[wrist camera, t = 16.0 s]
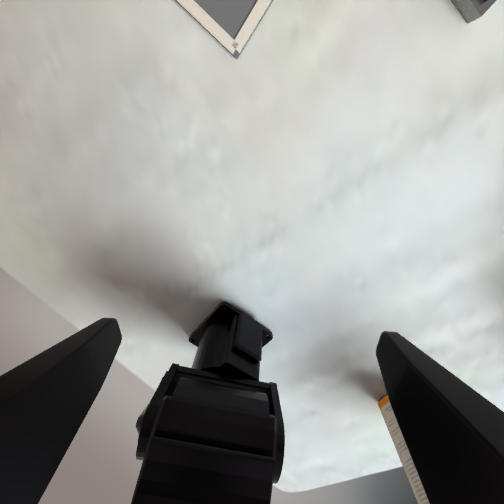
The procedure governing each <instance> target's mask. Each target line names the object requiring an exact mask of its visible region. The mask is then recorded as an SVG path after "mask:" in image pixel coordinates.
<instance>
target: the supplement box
mask: <svg viewBox="0 0 504 504" xmlns="http://www.w3.org/2000/svg"><path fill="white" fill-rule="evenodd" d="M378 405H379V408H380V410H381V413H382V415H383V418H384V420H385V423H386V425H387V428H388V430H389V433H390V435H391V438H392V440H393V442H394V445H395V447H396V450H397V452H398V455H399V457H400V460H401V462H402V465H403V467H404V469H405V472H406V474H407V477H408V479H409V482H410V484H411V487H412V489H413V492H414V494H415V496H416V499H417V502H418V504H430V503H429V501H428V498H427V496H426V493H425V491H424V488H423V486H422V483H421V481H420V478H419V476H418V473H417V471H416V468H415V466H414V463H413V461H412V458H411V455H410V453H409V450H408V448H407V445H406V443H405V440H404V438H403V435H402V433H401V430H400V428H399V425H398V423H397V420H396V418H395V415H394V412H393V410H392V407H391V404H390V401H389V398H388V395H386V396H385V397H384V398H383V399H381V400H380V401H379V402H378Z"/></svg>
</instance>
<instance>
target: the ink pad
mask: <svg viewBox="0 0 504 504" xmlns="http://www.w3.org/2000/svg"><path fill="white" fill-rule="evenodd" d="M451 1H452V2H453V3H454V5H455V6H456V8H457V9H458V10H459V12H460V13H461V14H462V16H463V17H464V19H465V20H466V21H467V23H470V22H472V21H474V20H476V19H477V18H479V17H481V16H482V15H483V14H484V13H485V12H486V11H487V10H488V9H489V8H490V7H491V6H492V4H493V3H494V2H495V1H496V0H451Z"/></svg>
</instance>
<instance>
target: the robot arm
mask: <svg viewBox="0 0 504 504" xmlns="http://www.w3.org/2000/svg"><path fill="white" fill-rule="evenodd" d="M223 307H226V308H223ZM267 335H269V336H267ZM193 338H194V339H193ZM272 338H273V334H272V332H271V331H269V330H268V329H266V328H265V327H263V326H262V325H261V324H259V323H258V322H256V321H255V320H253V319H251V318H250V317H248V316H247V315H245V314H244V313H242V312H240V311H239V310H237V309H236V308H234V307H233V306H231V305H230V304H228V303H226V302H222V303H220V304H219V305H218V307H217V308H216V309H215V310H214V311H213V312H212V313H211V314H210V315H209V316H208V317H207V318H206V319H205V320H204V321H203V322H202V323H201V324H200V325H199V327H198V328H197V329H196V330H195V331H194V332H193V333H192V334H191V335H190V337H189V342H191V343H192V344H194V345H196V346H197V347H198V349H197V352H196V355H195V359H194V362H193V365H192V368H188V367H183V366H179V364H174V363H172V365H171V367H170V369H169V371H167V372H166V373H165V375H164V377H163V378H162V380H161V383H160V384H159V386H158V388H157V390H156V392H155V394H154V396H153V397H152V399H151V401H150V403H149V404H148V406H147V407H146V408H145V410H144V411H143V412H142V414H141V415H140V416H139V418H138V420H137V423H136V428H137V431H138V433H139V438H138V446H137V451H136V459H139V460H143V463H142V467H141V470H140V474H139V477H138V481H137V484H136V488H135V491H134V495H133V499H132V502H131V504H270V501H271V492H272V484H273V483H277V482H278V480H279V478H280V475H281V471H282V465H283V458H284V445H285V435H284V423H283V418H282V412H281V406H280V401H279V395H278V390H277V384H276V383H272V382H270V383H265V382H260V381H259V368H260V361H261V355H262V347H263V346H265V345H266V344H267V343H268V342H269V341H270V340H272ZM121 340H122V335H121V332H120V328H119V325H118V322H117V320H116V319H114V318H102V319H100V320H98V321H96V322H95V323H93V324H91V325H89V326H88V327H86V328H84V329H82V330H81V331H79V332H77V333H75V334H74V335H72V336H70V337H69V338H66V339H65V340H63V341H61V342H59V343H58V344H56V345H54V346H52V347H51V348H49V349H47V350H45V351H44V352H42V353H40V354H38V355H37V356H35V357H33V358H31V359H29V360H28V361H26V362H24V363H22V364H21V365H19V366H17V367H15V368H14V369H12V370H10V371H8V372H7V373H5V374H3V375H1V376H0V504H38V502H39V501H40V499H41V497H42V495H43V493H44V491H45V490H46V488H47V486H48V484H49V482H50V481H51V479H52V477H53V475H54V473H55V471H56V470H57V468H58V466H59V464H60V462H61V460H62V459H63V457H64V455H65V453H66V451H67V449H68V447H69V446H70V444H71V442H72V440H73V438H74V437H75V435H76V433H77V431H78V429H79V427H80V426H81V424H82V422H83V420H84V418H85V417H86V415H87V413H88V411H89V409H90V407H91V405H92V404H93V402H94V400H95V398H96V396H97V395H98V393H99V391H100V389H101V387H102V385H103V383H104V381H105V378H106V376H107V374H108V371H109V369H110V367H111V364H112V362H113V360H114V358H115V355H116V353H117V351H118V348H119V346H120V343H121ZM376 356H377V360H378V363H379V367H380V370H381V374H382V377H383V381H384V384H385V388H386V391H387V395H388V398H389V401H390V404H391V407H392V410H393V412H394V415H395V418H396V420H397V423H398V425H399V428H400V430H401V433H402V435H403V438H404V440H405V443H406V445H407V448H408V450H409V453H410V455H411V458H412V461H413V463H414V466H415V468H416V471H417V473H418V476H419V478H420V481H421V483H422V486H423V488H424V491H425V493H426V496H427V498H428V501H429V503H430V504H504V412H503V411H501V410H500V409H499V408H497V407H496V406H495V405H493V404H492V403H491V402H489V401H488V400H487V399H485V398H484V397H483V396H481V395H480V394H479V393H477V392H476V391H475V390H473V389H472V388H471V387H469V386H468V385H467V384H465V383H464V382H463V381H461V380H460V379H459V378H457V377H456V376H455V375H453V374H452V373H451V372H449V371H448V370H447V369H445V368H444V367H443V366H441V365H440V364H439V363H437V362H436V361H435V360H433V359H432V358H431V357H429V356H428V355H427V354H425V353H424V352H423V351H421V350H420V349H419V348H417V347H416V346H415V345H413V344H412V343H411V342H409V341H408V340H407V339H405V338H404V337H403V336H401V335H400V334H398V333H397V332H389V331H384V332H382V334H381V336H380V339H379V342H378V345H377V348H376Z"/></svg>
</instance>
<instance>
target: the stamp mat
mask: <svg viewBox="0 0 504 504" xmlns="http://www.w3.org/2000/svg"><path fill="white" fill-rule="evenodd" d="M176 1H177V2H178V3H179V4H180V5H181V6H182V7H183V8H184V9H185V10H186V11H187V12H188V13H189V14H190V15H192V16H193V17H194V18H195V19H196V20H197V21H198V22H199V23H200V24H201V25H202V26H203V27H204V28H205V29H206V30H207V31H208V32H209V33H210V34H211V35H212V36H213V37H214V38H215V39H217V40H218V41H219V42H220V43H221V44H222V45H223V46H224V47H225V48H226V49H227V50H228V51H229V52H230V53H231V54H232V55H233V56H234V57H235V58H236V59H238V57H239V55H240V54H241V52H242V50H243V49H244V47H245V45H246V44H247V42H248V41H249V39H250V37H251V36H252V34H253V32H254V31H255V29H256V28H257V26H258V24H259V23H260V21H261V19H262V18H263V16H264V14H265V13H266V11H267V10H268V8H269V6H270V5H271V3H272V1H273V0H176Z"/></svg>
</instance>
